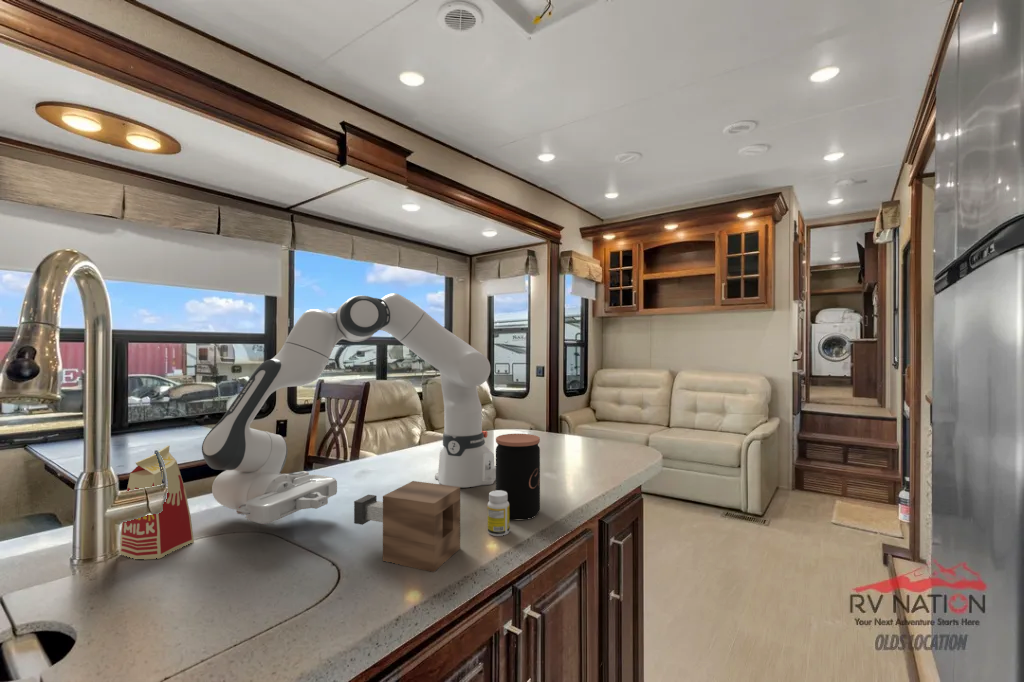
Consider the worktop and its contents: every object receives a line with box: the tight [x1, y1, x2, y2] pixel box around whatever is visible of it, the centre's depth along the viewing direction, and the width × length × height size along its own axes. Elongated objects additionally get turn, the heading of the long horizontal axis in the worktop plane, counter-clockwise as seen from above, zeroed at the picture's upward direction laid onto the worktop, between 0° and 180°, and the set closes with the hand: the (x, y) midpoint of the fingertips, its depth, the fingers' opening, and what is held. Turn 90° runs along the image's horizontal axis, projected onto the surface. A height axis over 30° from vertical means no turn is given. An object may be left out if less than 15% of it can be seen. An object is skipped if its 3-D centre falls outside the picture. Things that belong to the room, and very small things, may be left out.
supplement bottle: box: [486, 489, 511, 537], centre depth 99 cm, size 5×5×8 cm
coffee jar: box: [495, 433, 541, 520], centre depth 110 cm, size 11×11×18 cm
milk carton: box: [119, 445, 195, 560], centre depth 91 cm, size 9×9×20 cm
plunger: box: [353, 494, 383, 526], centre depth 91 cm, size 4×12×4 cm, turn 69°
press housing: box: [382, 480, 461, 573], centre depth 88 cm, size 10×11×12 cm
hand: (322, 502), depth 97 cm, fingers closed
